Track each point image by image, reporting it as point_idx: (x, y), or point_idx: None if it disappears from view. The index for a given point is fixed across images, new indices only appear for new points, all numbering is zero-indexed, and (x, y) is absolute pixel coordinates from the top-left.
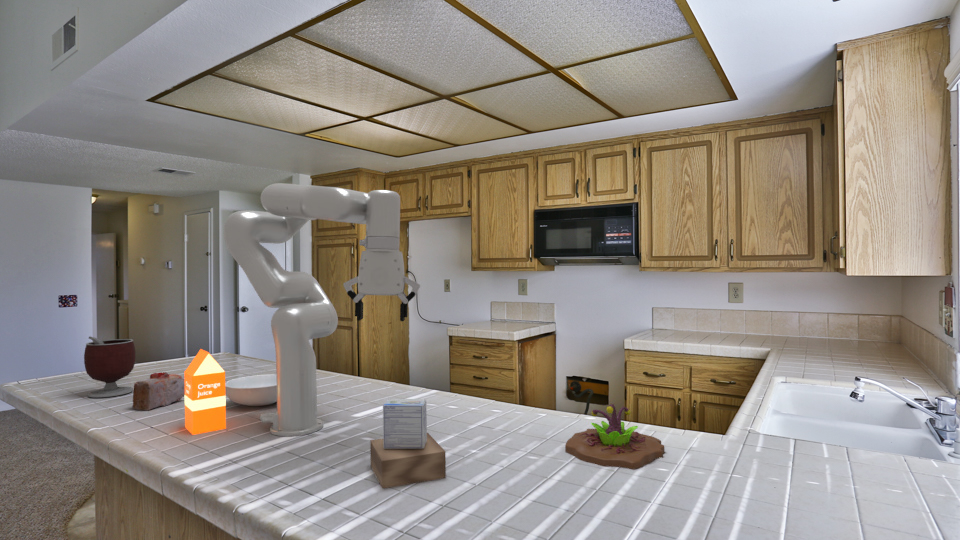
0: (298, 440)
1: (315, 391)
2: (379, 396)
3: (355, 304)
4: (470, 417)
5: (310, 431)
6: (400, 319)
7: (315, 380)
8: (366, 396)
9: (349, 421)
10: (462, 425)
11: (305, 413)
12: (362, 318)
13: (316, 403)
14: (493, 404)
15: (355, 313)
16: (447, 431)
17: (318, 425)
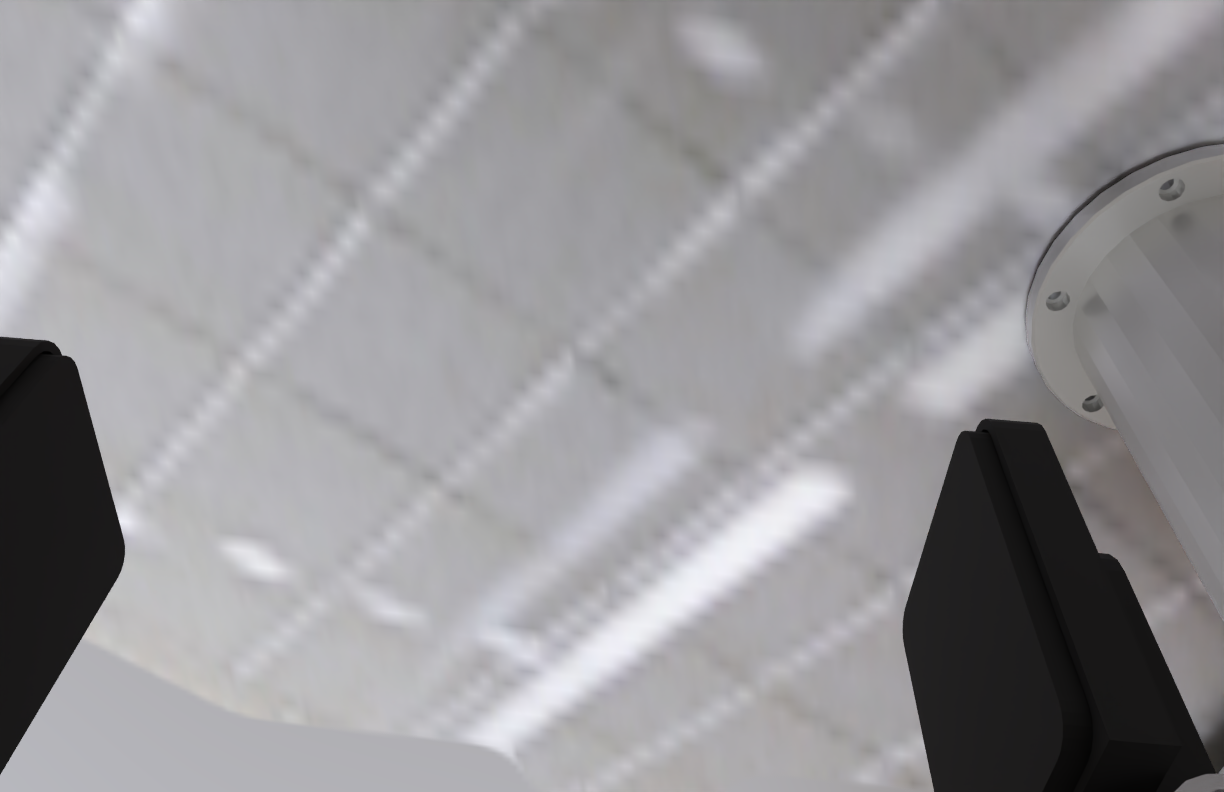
0: (1192, 71)
1: (1162, 432)
2: (707, 757)
3: (1204, 769)
4: (100, 367)
5: (1114, 189)
6: (44, 359)
7: (1195, 492)
8: (780, 765)
9: (859, 389)
10: (116, 226)
11: (1191, 271)
12: (914, 593)
13: (1118, 395)
14: None
15: (1115, 581)
16: (192, 121)
17: (1064, 266)
